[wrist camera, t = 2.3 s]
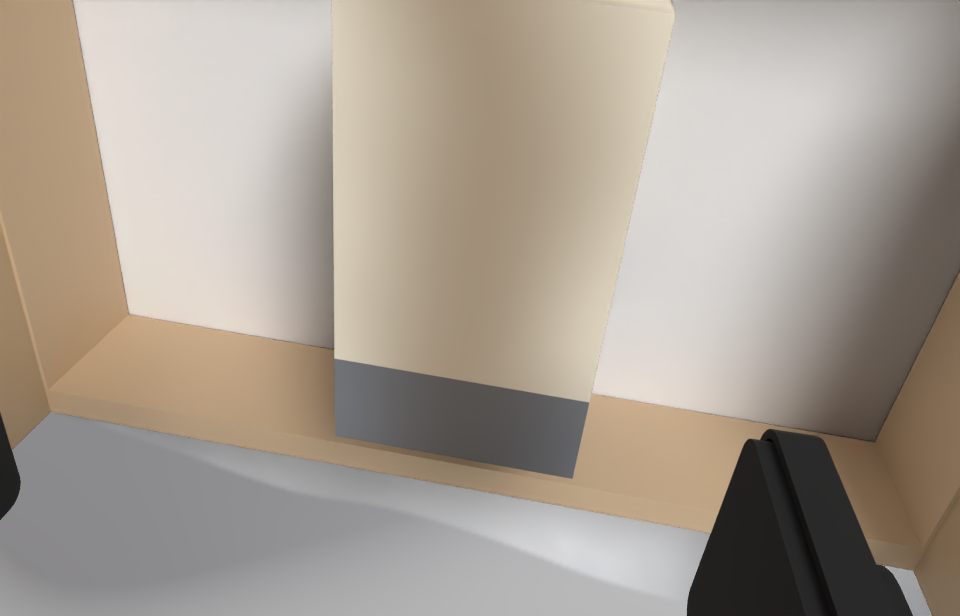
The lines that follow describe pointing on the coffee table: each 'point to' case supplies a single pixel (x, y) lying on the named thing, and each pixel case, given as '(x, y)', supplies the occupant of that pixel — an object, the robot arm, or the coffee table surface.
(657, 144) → the coffee table surface
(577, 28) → the block
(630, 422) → the carton
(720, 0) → the coffee table surface
